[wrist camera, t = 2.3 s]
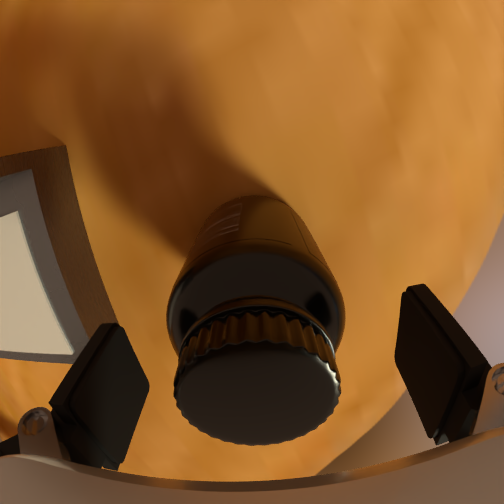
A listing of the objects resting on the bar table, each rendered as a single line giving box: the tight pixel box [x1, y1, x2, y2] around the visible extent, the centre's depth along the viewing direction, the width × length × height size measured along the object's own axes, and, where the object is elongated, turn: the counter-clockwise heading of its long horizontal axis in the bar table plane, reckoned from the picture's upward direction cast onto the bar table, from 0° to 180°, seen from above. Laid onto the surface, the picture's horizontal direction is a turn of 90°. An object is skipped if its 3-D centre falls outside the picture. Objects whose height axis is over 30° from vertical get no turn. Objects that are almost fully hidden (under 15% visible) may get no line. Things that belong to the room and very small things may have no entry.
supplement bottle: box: [166, 196, 345, 446], centre depth 13 cm, size 7×7×12 cm
